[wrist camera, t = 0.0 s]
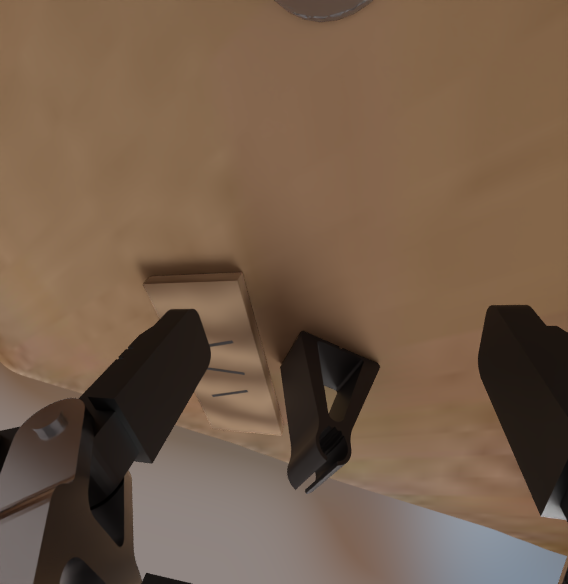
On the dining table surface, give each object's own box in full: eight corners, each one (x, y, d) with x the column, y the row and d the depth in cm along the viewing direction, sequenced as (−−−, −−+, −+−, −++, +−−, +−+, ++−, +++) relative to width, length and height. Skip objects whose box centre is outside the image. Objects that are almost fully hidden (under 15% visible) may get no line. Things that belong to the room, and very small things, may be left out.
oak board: (150, 276, 32) (142, 284, 31) (242, 272, 30) (237, 280, 28) (216, 419, 45) (212, 429, 44) (284, 425, 42) (281, 435, 41)
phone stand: (280, 363, 36) (251, 471, 26) (301, 329, 32) (276, 439, 23) (351, 394, 36) (348, 511, 27) (380, 364, 33) (387, 486, 23)
